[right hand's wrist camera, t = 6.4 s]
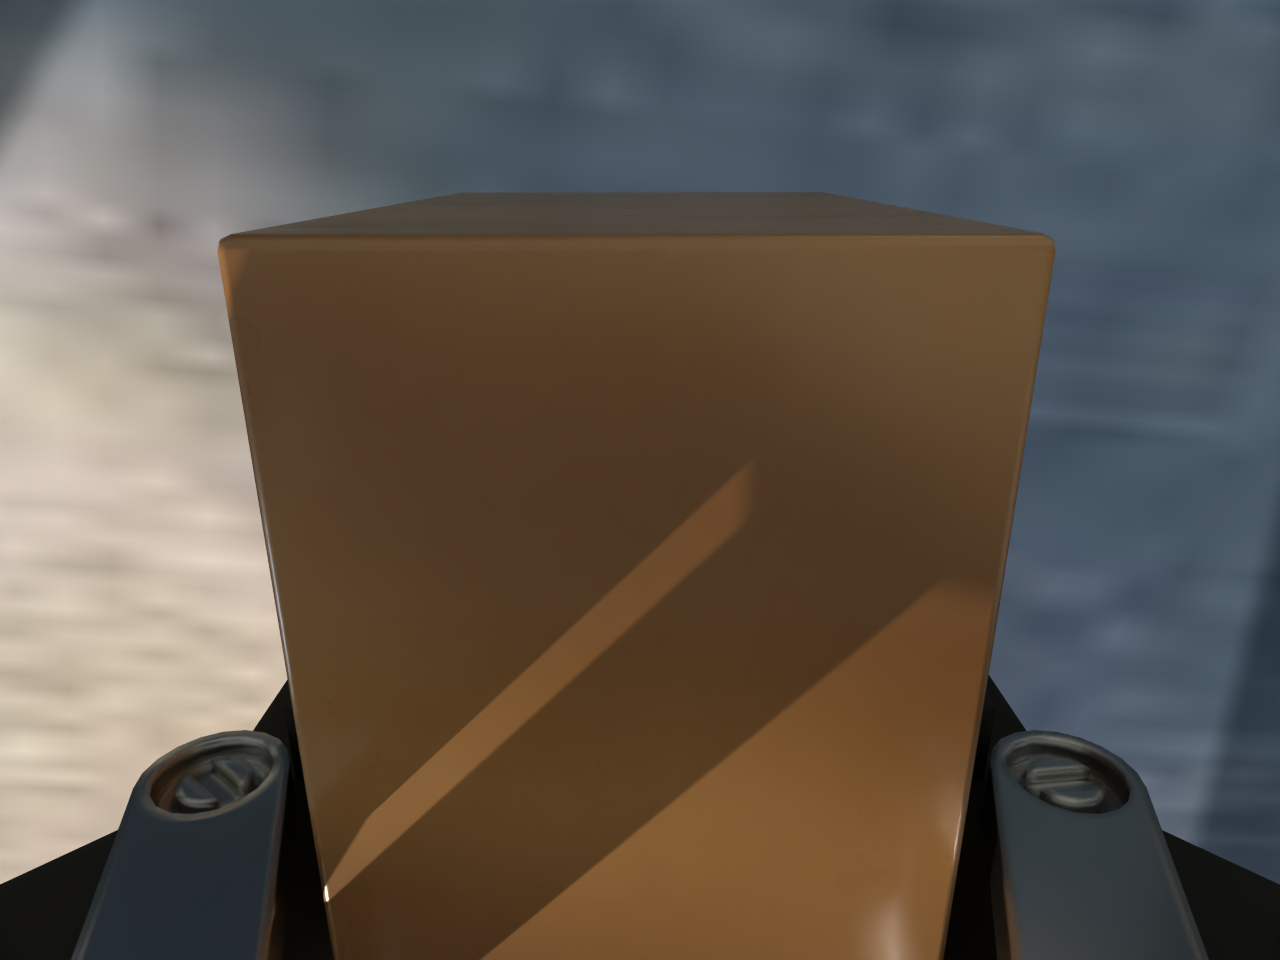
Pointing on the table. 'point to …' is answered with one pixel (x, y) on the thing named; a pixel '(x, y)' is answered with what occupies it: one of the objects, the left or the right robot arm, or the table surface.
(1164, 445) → the table surface
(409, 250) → the post
